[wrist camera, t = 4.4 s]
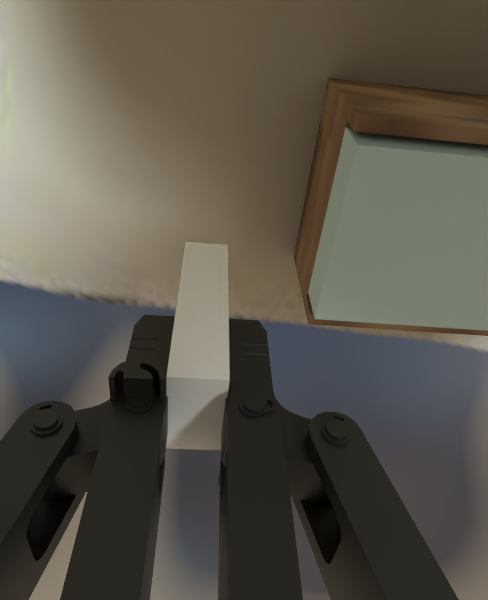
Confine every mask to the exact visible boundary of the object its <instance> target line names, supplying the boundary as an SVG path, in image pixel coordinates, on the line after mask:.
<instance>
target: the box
mask: <svg viewBox="0 0 488 600" xmlns="http://www.w3.org/2000/svg"><path fill="white" fill-rule="evenodd" d="M346 127H348V128H352V129H353V130H354V131H355V132H364V133H374V134H383V135H393V136H403V137H413V138H423V139H433V140H443V141H453V142H463V143H473V144H483V145H488V96H485V95H476V94H466V93H457V92H448V91H439V90H430V89H421V88H412V87H403V86H393V85H384V84H375V83H366V82H357V81H348V80H339V79H330V78H329V80H328V85H327V90H326V96H325V101H324V106H323V111H322V116H321V121H320V126H319V131H318V137H317V142H316V147H315V152H314V157H313V162H312V167H311V172H310V178H309V183H308V188H307V193H306V198H305V203H304V208H303V213H302V219H301V224H300V229H299V234H298V239H297V244H296V249H295V254H294V259H295V264H296V268H297V273H298V278H299V282H300V287H301V292H302V296H303V301H304V306H305V310H306V315H307V320H308V324H317V325H332V326H347V327H362V328H378V329H393V330H408V331H423V332H439V333H454V334H469V335H484V336H488V331H485V330H470V329H455V328H440V327H425V326H410V325H395V324H380V323H365V322H350V321H335V320H320V319H314V315H313V311H312V306H311V302H310V298H309V293H308V290H309V286H310V282H311V277H312V273H313V268H314V264H315V260H316V255H317V251H318V247H319V242H320V238H321V233H322V229H323V225H324V220H325V216H326V211H327V207H328V203H329V198H330V194H331V190H332V185H333V181H334V176H335V172H336V168H337V163H338V159H339V154H340V150H341V146H342V141H343V137H344V132H345V128H346Z"/></svg>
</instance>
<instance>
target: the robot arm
mask: <svg viewBox="0 0 488 600" xmlns="http://www.w3.org/2000/svg"><path fill="white" fill-rule="evenodd" d="M109 387H110V399H109V400H108V401H106V402H105V403H102V404H101V405H98V406H95V407H92V408H87V409H83V410H77V411H74V410H73V409H72V407H71V406H70V405H68V404H65V403H63V402H58V401H48V402H43V403H39V404H37V405H35V406H33V407H31V408H29V409H27V410H26V411H25V412H24V413H23V414H22V415H21V416H20V417H19V418H18V419H17V421H16V422H15V423H14V425H13V426H12V427H11V429H10V430H9V431H8V432H7V434H6V435H5V436H4V437H3V439H2V440H1V441H0V600H29V598H30V596H31V594H32V592H33V590H34V588H35V586H36V585H37V583H38V581H39V579H40V577H41V575H42V574H43V572H44V570H45V568H46V566H47V564H48V562H49V560H50V558H51V557H52V555H53V553H54V551H55V549H56V547H57V545H58V544H59V542H60V540H61V538H62V536H63V534H64V532H65V530H66V529H67V527H68V525H69V523H70V521H71V519H72V517H73V515H74V513H75V512H76V510H77V508H78V506H79V504H80V502H81V500H82V498H83V497H84V495H85V492H88V493H87V496H86V500H85V504H84V508H83V512H82V516H81V520H80V524H79V528H78V532H77V535H76V539H75V543H74V547H73V551H72V555H71V559H70V563H69V567H68V571H67V575H66V579H65V582H64V586H63V591H62V595H61V598H60V600H150V592H151V584H152V576H153V567H154V558H155V548H156V541H157V531H158V523H159V514H160V506H161V497H162V488H163V480H164V479H163V478H164V471H165V451H166V448H172V449H200V450H221V463H220V471H219V479H218V485H220V492H219V497H220V498H219V571H218V572H219V573H218V600H303V597H302V589H301V581H300V572H299V564H298V556H297V547H296V539H295V531H294V522H293V515H292V507H291V498H290V496H292V497H293V501H294V504H295V506H296V508H297V511H298V514H299V517H300V519H301V522H302V525H303V527H304V530H305V532H306V535H307V538H308V540H309V543H310V546H311V548H312V551H313V554H314V556H315V559H316V561H317V564H318V567H319V569H320V572H321V574H322V577H323V580H324V583H325V585H326V588H327V590H328V593H329V595H330V598H331V600H458V598H457V597H456V594H455V593H454V591H453V589H452V588H451V586H450V584H449V582H448V580H447V579H446V577H445V575H444V574H443V572H442V570H441V568H440V567H439V565H438V563H437V561H436V560H435V558H434V556H433V555H432V553H431V551H430V549H429V547H428V546H427V544H426V542H425V540H424V539H423V537H422V535H421V534H420V532H419V530H418V529H417V526H416V525H415V523H414V521H413V520H412V518H411V516H410V514H409V513H408V511H407V509H406V507H405V506H404V504H403V502H402V501H401V499H400V497H399V495H398V493H397V492H396V490H395V488H394V486H393V485H392V483H391V481H390V479H389V478H388V476H387V474H386V473H385V471H384V469H383V467H382V466H381V464H380V462H379V460H378V459H377V457H376V455H375V453H374V452H373V450H372V448H371V446H370V445H369V443H368V442H367V439H366V438H365V436H364V434H363V432H362V431H361V429H360V428H359V426H358V425H357V424H356V423H355V422H354V421H353V420H352V419H350V418H349V417H347V416H346V415H343V414H340V413H337V412H324V413H321V414H318V415H316V416H315V417H314V418H313V419H312V420H311V419H308V418H304V417H302V416H298V415H296V414H294V413H291V412H289V411H288V410H286V409H285V408H283V407H282V406H281V405H280V404H279V403H278V401H277V400H276V398H275V396H274V392H273V385H272V377H271V368H270V359H269V351H268V342H267V333H266V330H265V329H264V328H263V326H262V325H261V323H260V322H259V321H257V320H241V319H229V290H228V245H225V244H211V243H198V242H185V248H184V255H183V262H182V269H181V276H180V283H179V291H178V298H177V305H176V313H175V317H173V316H156V315H144V316H143V317H142V318H141V319H140V320H139V321H138V322H137V323H136V324H135V326H134V330H133V334H132V340H131V343H130V346H129V351H128V355H127V359H126V362H123V363H121V364H119V365H118V366H117V367H115V368H114V369H113V370H112V372H111V374H110V376H109Z"/></svg>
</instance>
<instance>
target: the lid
mask: <svg viewBox="0 0 488 600" xmlns="http://www.w3.org/2000/svg"><path fill="white" fill-rule="evenodd" d="M308 293H309V298H310V302H311V306H312V311H313V315H314V319H320V320H335V321H350V322H365V323H380V324H395V325H410V326H425V327H440V328H455V329H470V330H485V331H488V145H483V144H473V143H463V142H453V141H443V140H433V139H423V138H413V137H403V136H393V135H383V134H374V133H364V132H355V131H354V130H353V129H352V128H348V127H346V128H345V132H344V137H343V141H342V146H341V150H340V154H339V159H338V163H337V168H336V172H335V176H334V181H333V185H332V190H331V194H330V198H329V203H328V207H327V211H326V216H325V220H324V225H323V229H322V233H321V238H320V242H319V247H318V251H317V255H316V260H315V264H314V268H313V273H312V277H311V282H310V286H309V290H308Z"/></svg>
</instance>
